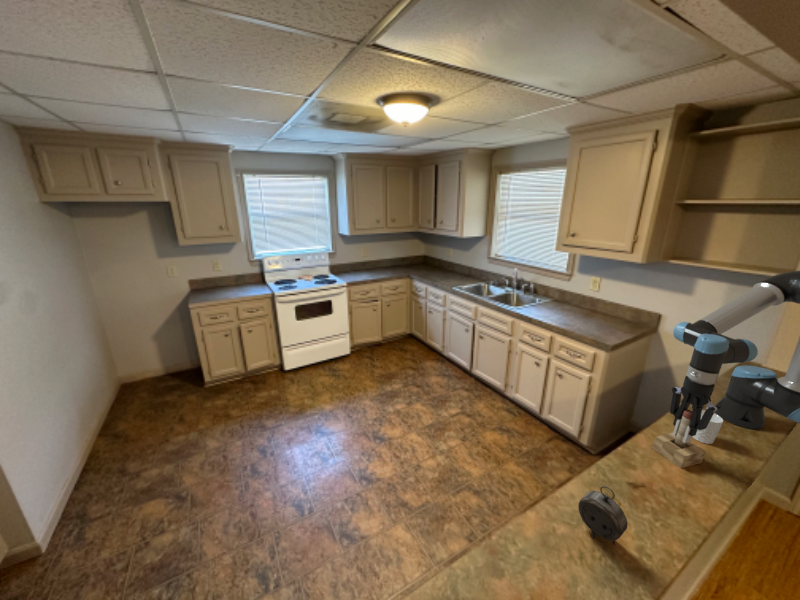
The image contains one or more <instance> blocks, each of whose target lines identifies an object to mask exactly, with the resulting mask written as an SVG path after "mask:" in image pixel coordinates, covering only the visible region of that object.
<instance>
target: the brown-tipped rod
mask: <svg viewBox="0 0 800 600" xmlns="http://www.w3.org/2000/svg"><path fill="white" fill-rule="evenodd" d="M692 412H693V410H690V409H685V410H684V412H683V416H682V419H681V422H680V426H679V429H678V432H677V435H676V438H675V441H674V444H675V445H677V446H678V447H680V448H681V449H683V448H684V445H685V443H684V442H682V441H683V438H684V435H685V432H686V429H687V426H689V425H691V419H692Z"/></svg>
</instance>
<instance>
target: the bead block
mask: <svg viewBox="0 0 800 600" xmlns="http://www.w3.org/2000/svg"><path fill="white" fill-rule="evenodd" d="M675 438H676V436H673V432H669V433H665V434H661V435H658V436H655V437H654V440H653V444H652V449H653V450H655V451H656V452H657V453H658V454H660V456H663V457H664V458H665V459H667V460H668V461H670V462H671V463H672V464H674V465H675V466H676V467H678V468H679V469H683V468H687V467H690V466H693V465H696V464H697V465H698V464H701V463H703V459H704V456H705V453H706V450H705V449H704V448H702V447H701V446H699V445H698V444H696V443H694V442H693V441H692V440H691V441H690V442H687V443H685V445H684V448H683V449H681V448H680V447H678V446H677V445H675V444H674V441H675Z"/></svg>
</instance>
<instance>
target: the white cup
mask: <svg viewBox="0 0 800 600" xmlns="http://www.w3.org/2000/svg"><path fill="white" fill-rule="evenodd" d="M706 410H707V409H705V410H704V409H702V413H701V418H702V416H703V414H704V412H705V411H706ZM723 423H724V419H723V418H721V417H720V416H718V415H717V414H716V413H714V414H713V416H712V418H711V420H710V422H709V424H708V426H707V427H706V429H703V430H697V433H696V435H695V436H692V438H693V439H694V440H696V441H697V442H700V443H702V444H707V445H712V444H714V442H715V440H716V438H717V436H718V434H719V432H720V430H721V427H722V425H723Z"/></svg>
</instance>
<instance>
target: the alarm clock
mask: <svg viewBox="0 0 800 600" xmlns="http://www.w3.org/2000/svg"><path fill="white" fill-rule="evenodd" d="M603 488H604V489H605V488H606V489H608V490H609V491H611V493H612V497H610V496H608V495H607V494H605V493H603V490H602V489H603ZM599 489H600V491H597V490H590V491H587V492H586V493H585V495H584V496H583V497H582V498H581V499H580V500H579V502H578V506H577V507H578V512H579V515H580V518H581V520H582V521H583V522H584V524H585V525H586V526H587V527H588V529H590V531H591V532H592V533H591V534H590V535H591V538H592V539H594V538H595V535H596V536H598V537H600V538H602V539H604V540H607V541H611V542H612V544H613V545H614V546H616V545H617V542H616V541H617V540H619V539H620V538H621V537H622V536H623V534H624V533H625V532H626V531H627V529H628V519H627V517H626V514H625V512H624V511H623V509H622V507H620V505H619V504H618V503H617V502H616V501H615V500H614V499H615V495H616V494H615V492H614V491H613V489H611V488H610V487H609V486H606V485H602V486H600V488H599Z"/></svg>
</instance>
